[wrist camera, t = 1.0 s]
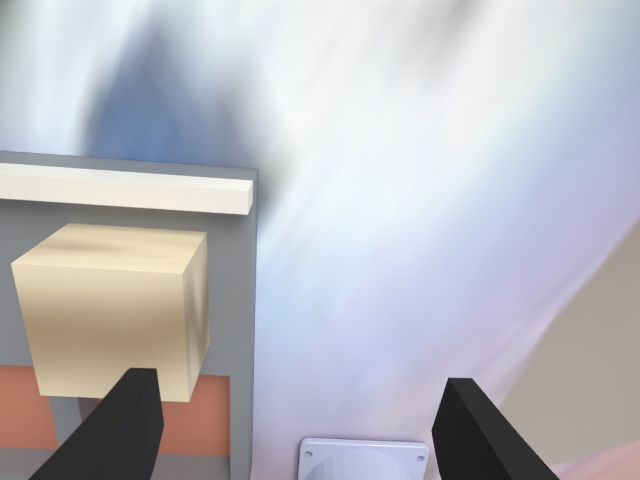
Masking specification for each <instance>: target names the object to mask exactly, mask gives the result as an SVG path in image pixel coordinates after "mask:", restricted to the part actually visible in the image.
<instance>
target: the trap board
mask: <svg viewBox="0 0 640 480" xmlns="http://www.w3.org/2000/svg"><path fill="white" fill-rule="evenodd" d="M257 199H258V169H249V168H235V167H221V166H207V165H193V164H179V163H165V162H151V161H137V160H123V159H109V158H95V157H81V156H67V155H53V154H39V153H25V152H11V151H0V480H28V479H29V478H30V477H31V476H32V475H33V474H34V473H35V472H36V471H37V470H38V469H39V468H40V467H41V466H42V465H43V464H44V463H45V462H46V461H47V460H48V459H49V458H50V457H51V456H52V455H53V453H54V452H55V451H56V450H57V449H58V448H59V447H60V446H61V445H62V444H63V443H64V442H65V441H66V440H67V438H68V437H69V436H70V435H71V434H72V433H73V432H74V431H75V430H76V429H77V428H78V426H79V425H80V424H81V423H82V422H83V421H84V420H85V419H86V418H87V417H88V415H89V414H90V413H91V412H92V411H93V410H94V409H95V407H96V406H97V405H98V404H99V403H100V402H101V400H102V399H103V398H88V397H66V396H44V395H40V392H39V387H38V383H37V378H36V374H35V369H34V365H33V361H32V356H31V352H30V347H29V343H28V338H27V334H26V329H25V325H24V320H23V316H22V311H21V307H20V303H19V298H18V294H17V289H16V285H15V280H14V276H13V271H12V267H11V263H12V262H14V261H15V260H17V259H18V258H19V257H21V256H22V255H24V254H25V253H27V252H28V251H29V250H31V249H32V248H34V247H35V246H37V245H38V244H40V243H41V242H42V241H44V240H45V239H47V238H48V237H50V236H51V235H52V234H54V233H55V232H57V231H58V230H60V229H61V228H62V227H64V226H65V225H67V224H68V223H75V224H90V225H106V226H121V227H137V228H152V229H168V230H183V231H199V232H207V259H208V297H209V335H210V344H209V347H208V349H207V352H206V355H205V358H204V361H203V364H202V367H201V369H200V372H199V375H198V378H197V381H196V384H195V386H194V389H193V392H192V395H191V398H190V401H189V402H174V401H161V404H162V411H163V419H164V429H163V433H162V437H161V442H160V446H159V450H158V454H157V458H156V462H155V466H154V470H153V473H152V476H151V479H150V480H250V475H251V468H252V426H253V381H254V335H255V290H256V245H257Z"/></svg>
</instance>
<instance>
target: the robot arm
mask: <svg viewBox="0 0 640 480" xmlns="http://www.w3.org/2000/svg"><path fill="white" fill-rule="evenodd" d="M163 429H164V419H163V411H162V404H161V397H160V390H159V383H158V375H157V368H129V369H128V370H127V371H126V372H125V373H124V374H123V376H122V377H121V378H120V379H119V380H118V382H117V383H116V384H115V385H114V386H113V388H112V389H111V390H110V391H109V392H108V393H107V395H106V396H105V397H104V398H103V399H102V400H101V402H100V403H99V404H98V405H97V406H96V407H95V409H94V410H93V411H92V412H91V413H90V414H89V415H88V417H87V418H86V419H85V420H84V421H83V422H82V423H81V424H80V425H79V426H78V428H77V429H76V430H75V431H74V432H73V433H72V434H71V435H70V436H69V437H68V438H67V440H66V441H65V442H64V443H63V444H62V445H61V446H60V447H59V448H58V449H57V450H56V451H55V452H54V453H53V455H52V456H51V457H50V458H49V459H48V460H47V461H46V462H45V463H44V464H43V465H42V466H41V467H40V468H39V469H38V470H37V471H36V472H35V473H34V474H33V475H32V476H31V477H30V478H29V479H28V480H150V479H151V476H152V473H153V470H154V466H155V462H156V458H157V454H158V450H159V446H160V442H161V437H162V433H163ZM432 437H433V442H434V448H435V453H436V458H437V463H438V468H439V473H440V476H441V479H442V480H560V479H559V478H558V477H557V476H556V475H555V474H554V473H553V472H552V471H551V470H550V469H549V467H548V466H547V465H546V464H545V463H544V462H543V461H542V460H541V459H540V458H539V456H538V455H537V454H536V453H535V452H534V451H533V450H532V449H531V447H530V446H529V445H528V444H527V443H526V442H525V441H524V439H523V438H522V437H521V436H520V435H519V434H518V433H517V431H516V430H515V429H514V428H513V427H512V426H511V424H510V423H509V422H508V421H507V420H506V418H505V417H504V416H503V415H502V414H501V412H500V411H499V410H498V409H497V408H496V406H495V405H494V404H493V403H492V402H491V400H490V399H489V398H488V397H487V396H486V394H485V393H484V392H483V391H482V390H481V389H480V387H479V386H478V385H477V384H476V383H475V381H474V380H473V379H472V378H448V381H447V384H446V387H445V390H444V393H443V396H442V399H441V402H440V406H439V409H438V412H437V415H436V418H435V421H434V424H433V427H432ZM307 451H309V452H307ZM418 456H420V457H418ZM428 456H429V448H428V446H427V445H426V444H425V443H417V442H394V441H370V440H347V439H324V438H305V439H303V440H302V441H301V444H300V456H299V468H298V480H423V477H424V473H425V469H426V465H427V460H428Z"/></svg>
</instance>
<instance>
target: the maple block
mask: <svg viewBox="0 0 640 480" xmlns="http://www.w3.org/2000/svg"><path fill="white" fill-rule="evenodd" d="M11 267H12V271H13V276H14V280H15V285H16V289H17V294H18V298H19V303H20V307H21V311H22V316H23V320H24V325H25V329H26V334H27V338H28V343H29V347H30V352H31V356H32V361H33V365H34V369H35V374H36V378H37V383H38V387H39V392H40V395H44V396H66V397H88V398H104V397H105V396H106V395H107V393H108V392H109V391H110V390H111V389H112V388H113V386H114V385H115V384H116V383H117V382H118V380H119V379H120V378H121V377H122V376H123V374H124V373H125V372H126V371H127V370H128V369H129V368H157V375H158V383H159V390H160V397H161V401H174V402H189V401H190V398H191V395H192V392H193V389H194V386H195V384H196V381H197V378H198V375H199V372H200V369H201V367H202V364H203V361H204V358H205V355H206V352H207V349H208V347H209V344H210V335H209V297H208V259H207V232H199V231H183V230H168V229H152V228H137V227H121V226H106V225H90V224H75V223H68V224H67V225H65V226H64V227H62V228H61V229H60V230H58V231H57V232H55V233H54V234H52V235H51V236H50V237H48V238H47V239H45V240H44V241H42V242H41V243H40V244H38V245H37V246H35V247H34V248H32V249H31V250H29V251H28V252H27V253H25V254H24V255H22V256H21V257H19V258H18V259H17V260H15V261H14V262H12V263H11Z"/></svg>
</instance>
